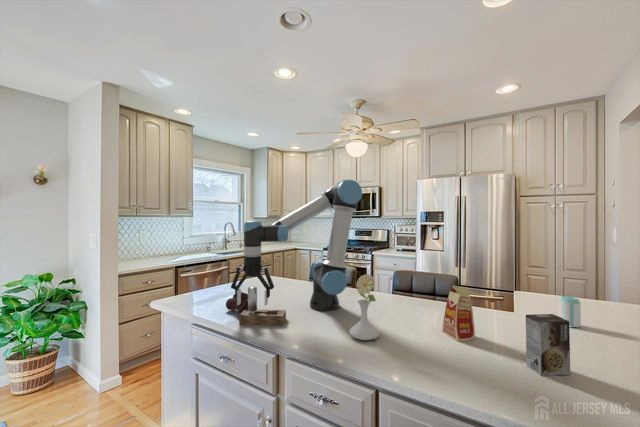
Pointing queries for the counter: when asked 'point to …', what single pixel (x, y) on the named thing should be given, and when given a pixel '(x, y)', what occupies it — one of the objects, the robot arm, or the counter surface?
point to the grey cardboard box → (548, 344)
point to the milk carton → (459, 315)
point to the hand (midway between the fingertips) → (252, 304)
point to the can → (570, 310)
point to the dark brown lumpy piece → (232, 303)
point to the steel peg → (252, 299)
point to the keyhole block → (262, 317)
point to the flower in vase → (364, 310)
